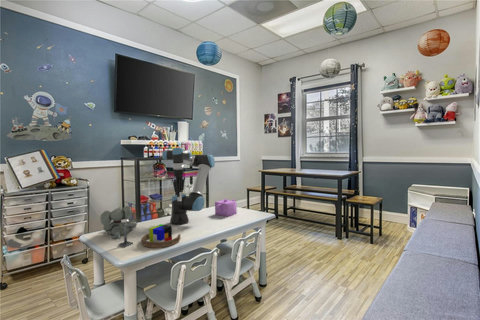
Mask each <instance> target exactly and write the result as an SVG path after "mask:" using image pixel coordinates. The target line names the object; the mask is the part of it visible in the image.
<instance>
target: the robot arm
mask: <svg viewBox="0 0 480 320" xmlns="http://www.w3.org/2000/svg"><path fill="white" fill-rule="evenodd" d="M161 157H162V159H163V160H164V161H172V169H173V170H172V174H173V175H174V176H173V178H172V179H171V181H172V185H173V190H174V192H175V193H176V195H173V196H172V197H171V216H170V219H169V223H170V224H171V225H174V226H179V225H180V226H181V225H185V224H188V223H190V221H189V217H188V213H187V211H189V212H190V211H191V212H200V211H202V210H203V208H204V206H205V198H204V195H203V192H204V190H205V186H206V185H205V184H206V182H207V178H208V174H209V172H210V171H211V170H212V168H214V167H215V163H216V162H215V158H214V156H213V155H212V154H192V151H190V150H189V149H184V148H183V147H173V148H172V149H171V150H170V149H169V150H168V149H167V150H163V151H162V153H161ZM184 164H185V165H186V166H190V167H194V168H198V171H197V175H196V178H195V181H194V185H193V187H192V189H191V190H192V191H191V192H189V195H188V196H187V194H186V193H183V191H184V189H185V188H184V187H185V180H186V177H184V174H185V171H184V170H185V169H184V167H185V166H184Z"/></svg>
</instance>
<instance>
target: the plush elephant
mask: <svg viewBox="0 0 480 320" xmlns="http://www.w3.org/2000/svg"><path fill="white" fill-rule="evenodd" d="M132 213H133V212H132V208H131V207H130V206H129V205H127V206H126V205H125V206H124V207H121V206H118V208H115V209H114V210H112V211H110V210H104V211H103V212H102V213H101V215H100V223H101V224H102V225H103V231H105V232H108V233H109V235H113V237H112V239H115V240H120V238H121V237H122V236H124V223H121V220H123V219H130V217H131V216H132ZM130 223H137V222H136V221H131V220H129V222H126V224H130ZM137 225H138V224H137ZM137 225H134V226H126V227H127V235H128V234H129V232H131V231H132V230H134V229H135V228H136V227H137ZM121 239H122V238H121Z"/></svg>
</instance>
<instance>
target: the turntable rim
mask: <svg viewBox="0 0 480 320" xmlns="http://www.w3.org/2000/svg"><path fill="white" fill-rule="evenodd" d="M147 240H150V237H149V233H146V234H144V235H143V236H142V237H141V245H142V246H143V247H144V248H145V247H146V248H151V249H154V248H158V249H159V248H166V247H170V246H174V245H176V244H177V243H179V242H180V240H181V234H180V233H178V235H177V236H176V237H174V238H172V240H169V241H164V242H150V241H147Z"/></svg>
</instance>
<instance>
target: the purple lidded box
mask: <svg viewBox="0 0 480 320" xmlns="http://www.w3.org/2000/svg"><path fill="white" fill-rule="evenodd" d="M235 200H236V198H233V199H232V200H229V199H228V198H225V199H224V198H223V199H221V200H218V201H214V214H215V215H217V216H221V217H227V218H228V217H231V216H234V214H235V215H237V213H238V212H237V211H238V210H237V201H235Z"/></svg>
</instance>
